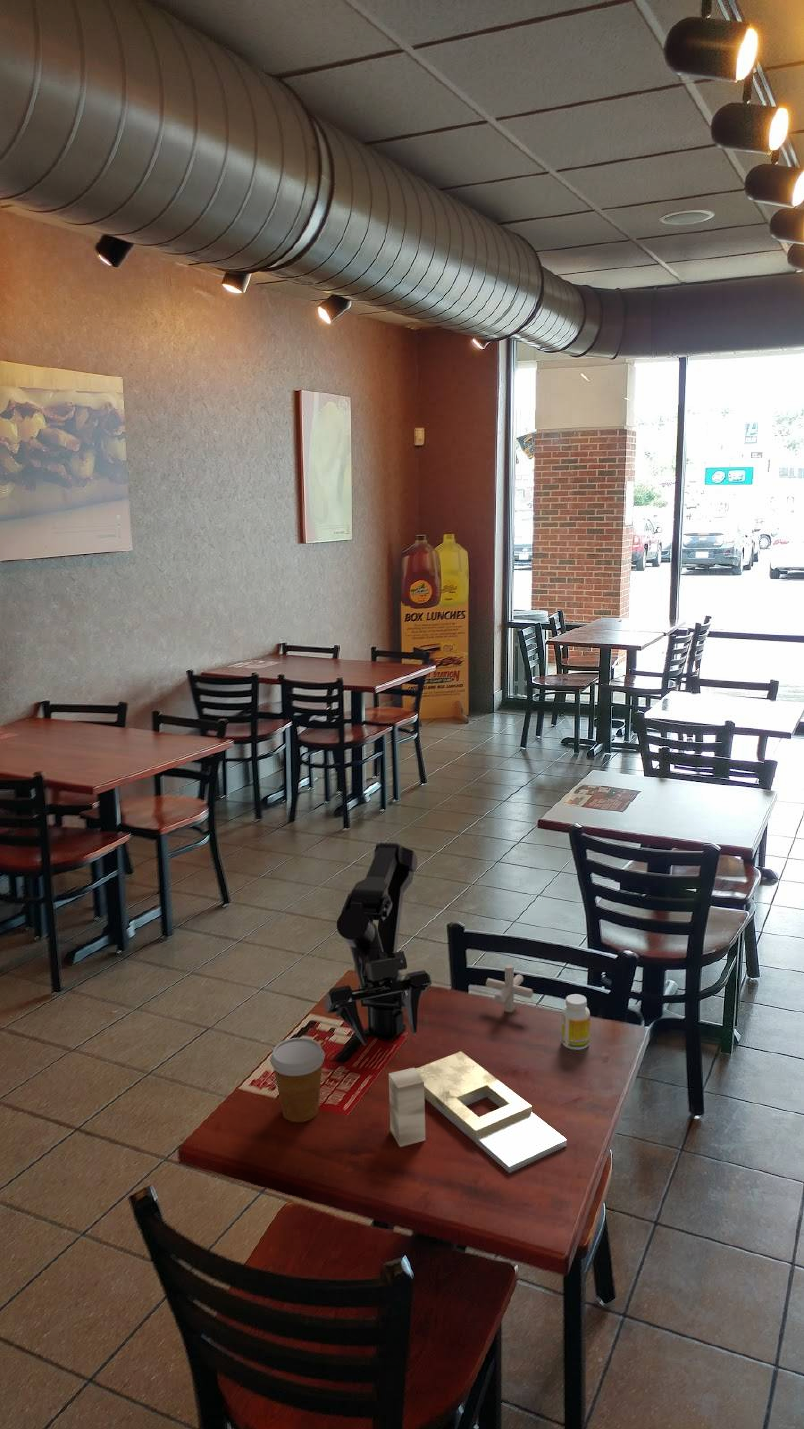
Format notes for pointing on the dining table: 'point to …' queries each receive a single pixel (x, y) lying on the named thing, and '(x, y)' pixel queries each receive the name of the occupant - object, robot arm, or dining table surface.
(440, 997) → the dining table surface
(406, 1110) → the maple pin
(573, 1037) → the supplement bottle
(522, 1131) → the plate with square hole
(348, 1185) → the dining table surface
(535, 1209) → the dining table surface
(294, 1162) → the dining table surface
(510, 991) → the pipe connector
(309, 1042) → the disposable coffee cup
